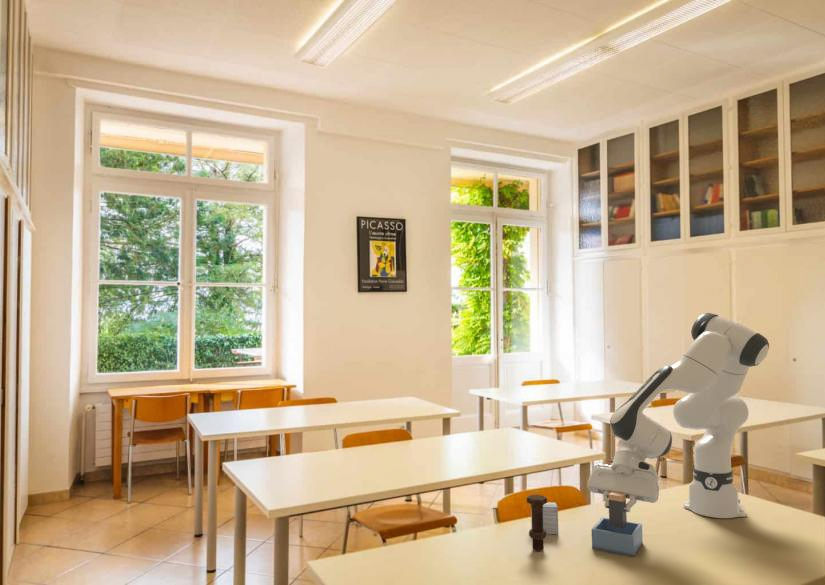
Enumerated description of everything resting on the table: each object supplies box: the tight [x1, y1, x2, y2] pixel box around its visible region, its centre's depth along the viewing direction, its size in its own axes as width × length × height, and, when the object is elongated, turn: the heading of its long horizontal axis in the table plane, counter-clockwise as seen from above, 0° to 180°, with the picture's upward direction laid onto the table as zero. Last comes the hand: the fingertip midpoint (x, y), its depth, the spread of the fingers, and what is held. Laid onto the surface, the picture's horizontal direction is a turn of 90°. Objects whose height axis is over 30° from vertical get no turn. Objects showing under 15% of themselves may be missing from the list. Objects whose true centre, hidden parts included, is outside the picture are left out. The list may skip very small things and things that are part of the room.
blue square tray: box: [591, 517, 644, 558], centre depth 172 cm, size 12×12×6 cm
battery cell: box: [608, 492, 628, 528], centre depth 172 cm, size 3×4×9 cm
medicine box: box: [530, 501, 560, 535], centre depth 184 cm, size 8×4×9 cm, turn 84°
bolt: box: [526, 494, 548, 552], centre depth 171 cm, size 6×5×15 cm
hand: (616, 509), depth 172 cm, fingers closed on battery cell, 4 cm apart
